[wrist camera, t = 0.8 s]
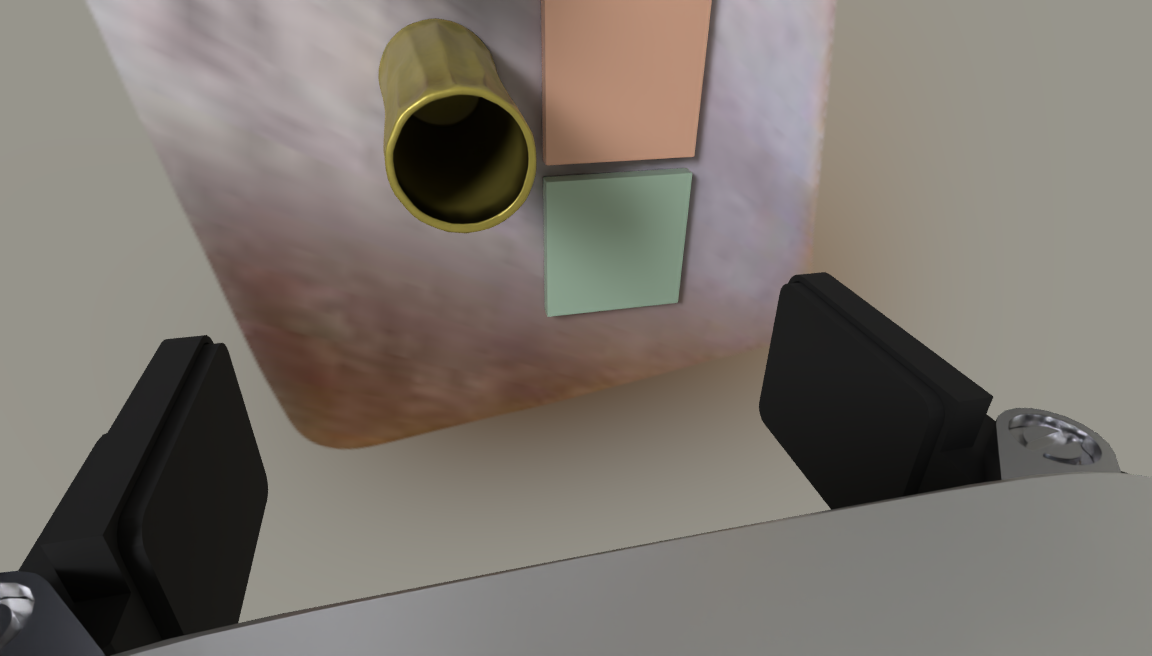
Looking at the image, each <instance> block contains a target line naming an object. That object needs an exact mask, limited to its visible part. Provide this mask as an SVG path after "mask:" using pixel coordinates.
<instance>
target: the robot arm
mask: <svg viewBox="0 0 1152 656" xmlns="http://www.w3.org/2000/svg"><path fill="white" fill-rule="evenodd" d="M992 399H993V396H992V395H990V394H989V393H988V392H987V391H985V390H984V389H983V388H981V387H980V386H978V385H977V384H976V383H975V382H973V381H972V380H970V379H969V378H968V377H966V376H965V375H964V374H962V373H961V372H960V371H958V370H957V369H956V368H954V367H953V366H952V365H950V364H949V363H948V362H946V361H945V360H944V359H942V358H941V357H940V356H938V355H937V354H936V353H934V352H933V351H932V350H930V349H929V348H928V347H926V346H925V345H924V344H922V343H921V342H920V341H918V340H917V339H916V338H914V337H913V336H911V335H910V334H909V333H907V332H906V331H905V330H903V329H902V328H901V327H899V326H898V325H897V324H895V323H894V322H892V321H891V320H890V319H889V318H887V317H886V316H885V315H883V314H882V313H881V312H879V311H878V310H876V309H875V308H874V307H872V306H871V305H870V304H869V303H867V302H866V301H865V300H863V299H862V298H860V297H859V296H858V295H856V294H855V293H854V292H853V291H851V290H850V289H848V288H847V287H846V286H844V285H843V284H842V283H840V282H839V281H838V280H836V279H835V278H834V277H832V276H831V275H829V274H828V273H825V272H822V273H812V274H802V275H795V276H793V277H792V278H791V279H790V281H789V282H788V284H785V285H784V286H783V287H782V288H781V291H780V295H779V301H778V306H777V311H776V317H775V322H774V327H773V333H772V338H771V343H770V349H769V354H768V360H767V365H766V370H765V375H764V381H763V386H762V391H761V397H760V402H759V411H760V415H761V418H762V421H763V422H764V424H765V425H766V426H767V428H768V429H769V430H770V432H771V433H772V434H773V435H774V436H775V438H776V439H777V441H778V442H779V443H780V444H781V446H782V447H783V448H784V450H785V451H786V452H787V453H788V455H789V456H790V457H791V459H792V460H793V461H794V462H795V463H796V465H797V466H798V467H799V469H800V470H801V471H802V473H803V474H804V475H805V476H806V478H807V479H808V480H809V481H810V483H811V484H812V485H813V487H814V488H815V489H816V491H817V492H818V493H819V494H820V496H821V497H822V498H823V500H824V501H825V502H826V503H827V504H828V506H829V507H830V508H831V510H827V511H822V512H816V513H811V514H805V515H799V516H794V517H788V518H783V519H777V520H772V521H766V522H761V523H755V524H751V525H744V526H739V527H734V528H729V529H723V530H718V531H712V532H707V533H701V534H696V535H692V536H686V537H680V538H675V539H669V540H664V541H659V542H653V543H648V544H643V545H637V546H633V547H627V548H621V549H616V550H611V551H606V552H601V553H595V554H589V555H584V556H579V557H573V558H568V559H563V560H558V561H552V562H548V563H542V564H537V565H531V566H526V567H521V568H516V569H511V570H506V571H500V572H495V573H490V574H485V575H480V576H475V577H469V578H464V579H459V580H454V581H449V582H444V583H438V584H433V585H428V586H423V587H418V588H413V589H407V590H402V591H397V592H392V593H386V594H381V595H376V596H371V597H366V598H361V599H355V600H350V601H345V602H340V603H335V604H329V605H324V606H319V607H314V608H309V609H303V610H298V611H293V612H288V613H282V614H278V615H274V616H269V617H264V618H260V619H255V620H251V621H247V622H242V623H238V621H239V617H240V613H241V608H242V604H243V600H244V595H245V591H246V587H247V583H248V578H249V574H250V570H251V566H252V561H253V557H254V553H255V548H256V544H257V540H258V536H259V531H260V527H261V523H262V519H263V515H264V510H265V506H266V502H267V496H268V483H267V477H266V473H265V469H264V466H263V463H262V460H261V456H260V453H259V450H258V446H257V443H256V440H255V437H254V433H253V430H252V427H251V424H250V420H249V417H248V414H247V411H246V407H245V404H244V401H243V398H242V394H241V391H240V388H239V384H238V381H237V378H236V375H235V371H234V368H233V365H232V362H231V358H230V355H229V352H228V350H227V347H226V346H225V344H223V343H217V344H214V343H213V341H212V340H211V338H210V337H208V336H207V335H204V336H194V337H185V338H174V339H166V340H164V341H163V342H162V343H161V345H160V346H159V348H158V349H157V351H156V353H155V354H154V356H153V358H152V360H151V361H150V363H149V364H148V366H147V368H146V370H145V371H144V373H143V375H142V376H141V378H140V379H139V381H138V383H137V384H136V386H135V388H134V390H133V391H132V393H131V395H130V396H129V398H128V399H127V401H126V403H125V405H124V406H123V408H122V410H121V411H120V413H119V415H118V416H117V418H116V420H115V421H114V423H113V425H112V426H111V428H110V430H109V431H108V433H106V434H104V435H102V437H101V438H100V439H99V440H98V441H97V443H96V444H95V446H94V447H93V449H92V451H91V452H90V454H89V456H88V457H87V459H86V460H85V462H84V464H83V466H82V467H81V469H80V470H79V472H78V474H77V475H76V477H75V479H74V480H73V482H72V483H71V485H70V487H69V488H68V490H67V492H66V493H65V495H64V497H63V498H62V500H61V502H60V503H59V505H58V506H57V508H56V510H55V512H54V513H53V515H52V516H51V518H50V520H49V521H48V523H47V524H46V526H45V528H44V529H43V532H42V533H41V535H40V536H39V538H38V539H37V541H36V543H35V544H34V546H33V548H32V549H31V551H30V553H29V554H28V556H27V557H26V559H25V561H24V562H23V564H22V566H21V567H20V569H19V570H18V571H10V572H1V573H0V656H1152V477H1149V476H1142V475H1134V474H1128V473H1125V472H1122V471H1120V468H1119V465H1118V462H1117V459H1116V456H1115V453H1114V451H1113V450H1112V448H1111V447H1110V445H1109V444H1108V443H1107V442H1106V441H1105V440H1104V439H1103V438H1102V437H1101V436H1100V435H1099V434H1098V433H1096V432H1094V431H1093V430H1091V429H1090V428H1088V427H1086V426H1085V425H1083V424H1081V423H1079V422H1077V421H1075V420H1072V419H1070V418H1068V417H1066V416H1063V415H1059V414H1056V413H1052V412H1049V411H1045V410H1039V409H1033V408H1015V409H1010V410H1006V411H1004V412H1003V413H1001V414H1000V415H999V416H998V417H997V420H996V421H994V420H993V419H992V418H990V417H989V416H988V415H987V414H986V413H987V411H988V408H989V406H990V403H991V401H992Z"/></svg>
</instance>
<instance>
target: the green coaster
mask: <svg viewBox="0 0 1152 656" xmlns="http://www.w3.org/2000/svg"><path fill="white" fill-rule="evenodd" d="M691 181H692V172H691V171H689V170H688V169H687V168H677V169H661V170H645V171H629V172H613V173H598V174H582V175H566V176H550V177H543V214H544V300H545V311H546V314H547V317H550V316H559V315H568V314H578V313H587V312H596V311H605V310H614V309H624V308H633V307H642V306H651V305H660V304H670V303H678V297H679V288H680V279H681V270H682V261H683V252H684V243H685V234H686V225H687V217H688V208H689V199H690V190H691Z"/></svg>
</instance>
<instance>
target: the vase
mask: <svg viewBox="0 0 1152 656" xmlns="http://www.w3.org/2000/svg"><path fill="white" fill-rule="evenodd" d="M379 85H380V89H381V93H382V97H383V101H384V106H385V128H384V156H385V166H386V172H387V177H388V180H389V183H390V186H391V188H392V190H393V192H394V194H395V195H396V197H397V198H398V199H399V200H400V202H401V203H402V204H403V205H404V206H405V208H406V209H407V210H408V211H409V212H410V213H411V214H412V215H413V216H414V217H416V218H417V219H418V220H420V221H422V222H424V223H426V224H428V225H430V226H433V227H435V228H438V229H441V230H444V231H447V232H456V233H470V232H476V231H481V230H485V229H489V228H491V227H494V226H496V225H498V224H500V223H501V222H503V221H505V220H506V219H507V218H509V217H510V216H511V215H513V214H514V213H515V212H516V211H517V210H518V209H519V208H520V207H521V206H522V204H523V203H524V202H525V201H526V199H527V197H528V195H529V193H530V190H531V188H532V185H533V182H534V179H535V175H536V147H535V141H534V137H533V134H532V132H531V130H530V128H529V126H528V125H527V123H526V121H525V120H524V118H523V116H522V114H521V113H520V111H519V110H518V108H517V106H516V105H515V103H514V102H513V100H512V99H511V98H510V96H509V94H508V93H507V91H506V89H505V88H504V86H503V84H502V82H501V81H500V79H499V77H498V75H497V71H496V67H495V64H494V61H493V59H492V56H491V54H490V52H489V50H488V49H487V48H486V46H485V45H484V44H483V42H482V41H481V40H480V39H479V38H478V37H477V36H476V35H475V34H474V33H473V32H471V31H470V30H469V29H467V28H465V27H464V26H462V25H460V24H457V23H455V22H452V21H448V20H443V19H427V20H422V21H419V22H415V23H413V24H410V25H408V26H406V27H404V28H403V29H401V30H400V31H399V32H398V33H397V34H396V35H395V36H394V37H393V38H392V39H391V40H390V41H389V43H388V44H387V46H386V48H385V50H384V52H383V55H382V58H381V61H380V66H379Z"/></svg>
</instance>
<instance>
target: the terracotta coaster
mask: <svg viewBox="0 0 1152 656" xmlns="http://www.w3.org/2000/svg"><path fill="white" fill-rule="evenodd" d="M711 3H712V0H541V40H542V127H543V161H544V163H545V164H546V165H563V164H579V163H596V162H613V161H630V160H647V159H664V158H680V157H694V154H695V146H696V137H697V128H698V119H699V110H700V101H701V92H702V83H703V74H704V66H705V57H706V48H707V39H708V30H709V21H710V12H711Z"/></svg>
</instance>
